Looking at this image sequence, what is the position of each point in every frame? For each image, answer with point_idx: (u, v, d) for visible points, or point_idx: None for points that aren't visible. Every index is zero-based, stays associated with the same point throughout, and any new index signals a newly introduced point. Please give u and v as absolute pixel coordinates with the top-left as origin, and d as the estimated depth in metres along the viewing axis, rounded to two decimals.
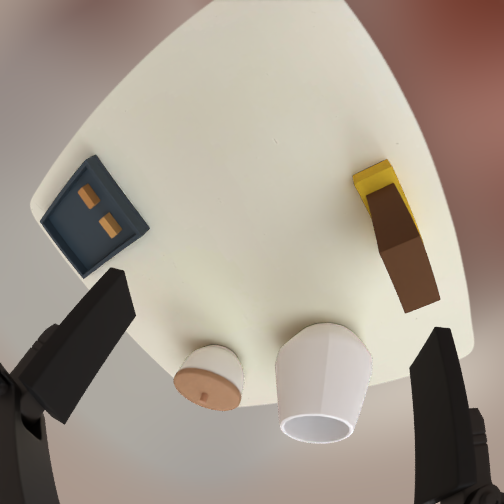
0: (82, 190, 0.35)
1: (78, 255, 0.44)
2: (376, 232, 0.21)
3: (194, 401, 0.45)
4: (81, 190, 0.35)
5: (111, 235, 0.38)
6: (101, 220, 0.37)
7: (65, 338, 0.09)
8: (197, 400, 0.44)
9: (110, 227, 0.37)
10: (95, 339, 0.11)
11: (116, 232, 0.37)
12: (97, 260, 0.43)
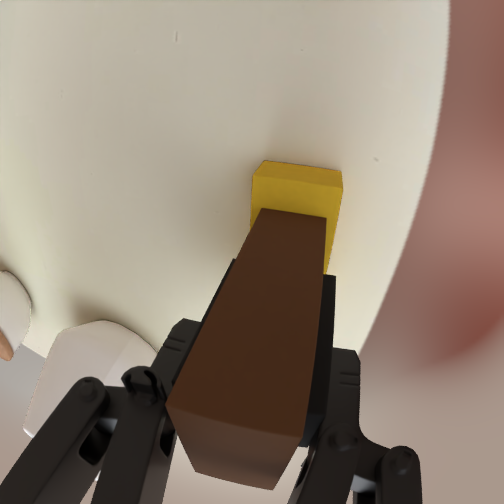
0: None
1: None
2: (210, 323, 0.08)
3: None
4: None
5: None
6: None
7: None
8: None
9: None
10: None
11: None
12: None
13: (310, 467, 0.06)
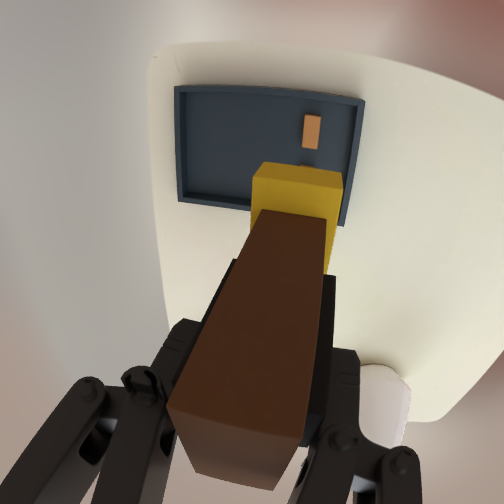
0: (316, 121, 0.24)
1: (192, 167, 0.31)
2: (210, 324, 0.08)
3: None
4: (315, 119, 0.24)
5: None
6: None
7: None
8: None
9: None
10: None
11: None
12: (222, 194, 0.32)
13: (310, 467, 0.06)
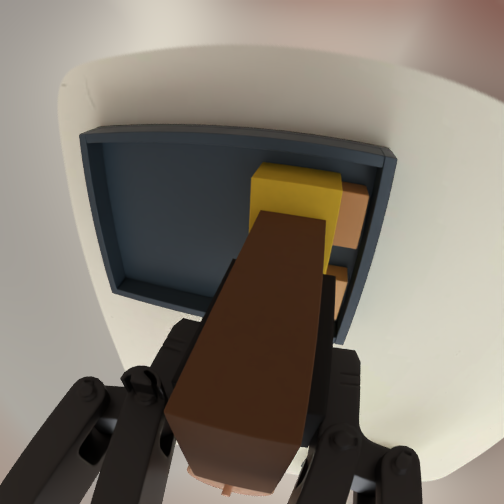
0: (361, 203, 0.14)
1: (125, 248, 0.21)
2: (208, 328, 0.08)
3: (198, 479, 0.30)
4: (359, 199, 0.14)
5: None
6: None
7: None
8: (205, 481, 0.30)
9: (338, 304, 0.17)
10: None
11: (336, 315, 0.18)
12: (169, 285, 0.22)
13: (310, 467, 0.06)
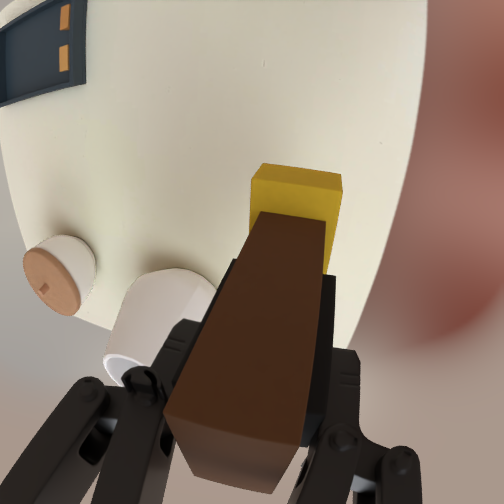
0: (67, 7, 0.19)
1: (7, 82, 0.26)
2: (207, 329, 0.08)
3: (34, 288, 0.35)
4: (66, 7, 0.19)
5: (61, 68, 0.23)
6: (62, 47, 0.22)
7: None
8: (37, 289, 0.35)
9: (66, 59, 0.23)
10: None
11: (68, 67, 0.23)
12: (20, 94, 0.27)
13: (310, 467, 0.06)
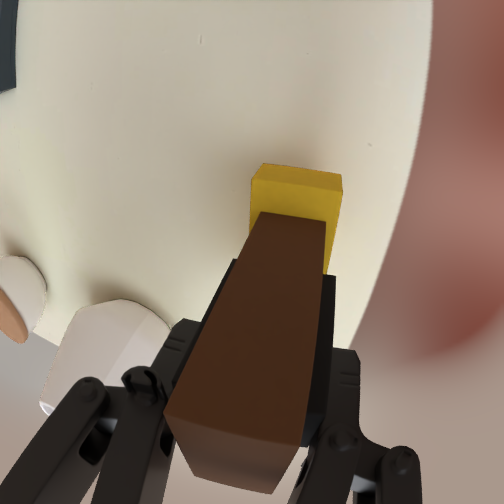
0: None
1: None
2: (207, 330, 0.08)
3: None
4: None
5: None
6: None
7: None
8: None
9: None
10: None
11: None
12: None
13: (310, 467, 0.06)
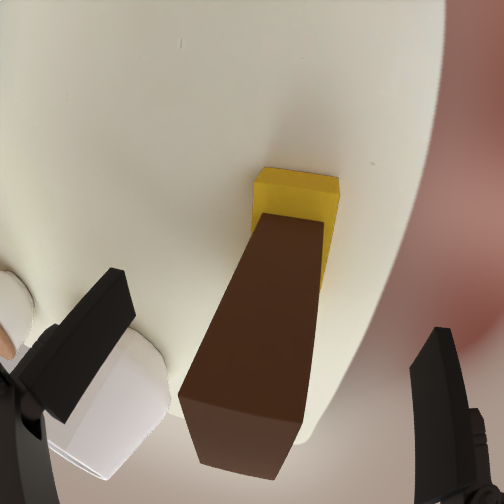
0: None
1: None
2: (216, 320, 0.09)
3: None
4: None
5: None
6: None
7: (65, 338, 0.09)
8: None
9: None
10: (95, 339, 0.11)
11: None
12: None
13: None
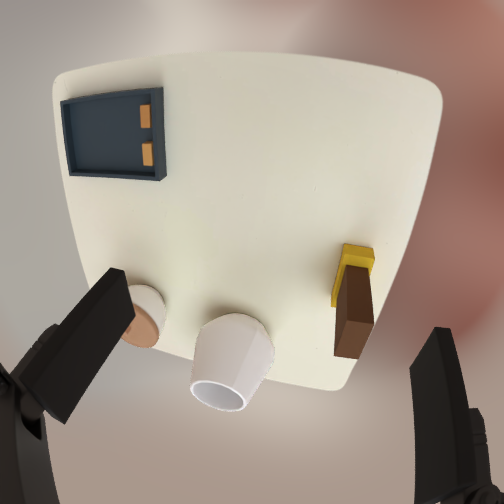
0: (147, 108, 0.33)
1: (77, 152, 0.40)
2: (348, 303, 0.32)
3: None
4: (146, 107, 0.33)
5: (145, 163, 0.37)
6: (145, 145, 0.36)
7: (65, 338, 0.09)
8: None
9: (150, 156, 0.36)
10: (95, 339, 0.11)
11: (152, 163, 0.37)
12: (94, 168, 0.41)
13: None
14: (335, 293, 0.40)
